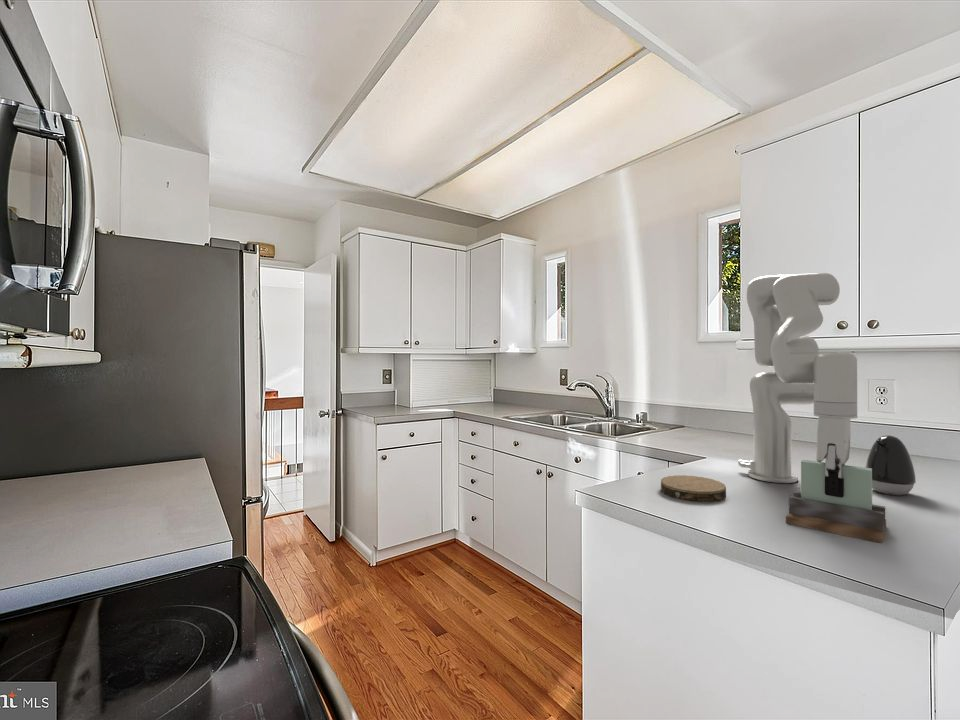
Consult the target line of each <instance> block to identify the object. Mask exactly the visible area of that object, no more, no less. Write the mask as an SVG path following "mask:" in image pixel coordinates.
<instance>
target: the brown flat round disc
mask: <svg viewBox="0 0 960 720" xmlns="http://www.w3.org/2000/svg"><path fill="white" fill-rule="evenodd" d="M660 490H661V491H660V492H661V493H662V494H663V495H665V496H667V497H670V498H673V499H675V500H681V501H686V502H691V503H716V502H718V503H719V502H721V501H724V500H725V499H726V497H727V486H726V484H725V483H723V482H721V481H719V480H715V479H714V478H713V479H712V478H708V477H702V476H697V475H683V474H682V475H680V474H678V475H676V474H675V475H668V476H665V477H663V478H661V479H660Z"/></svg>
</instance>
